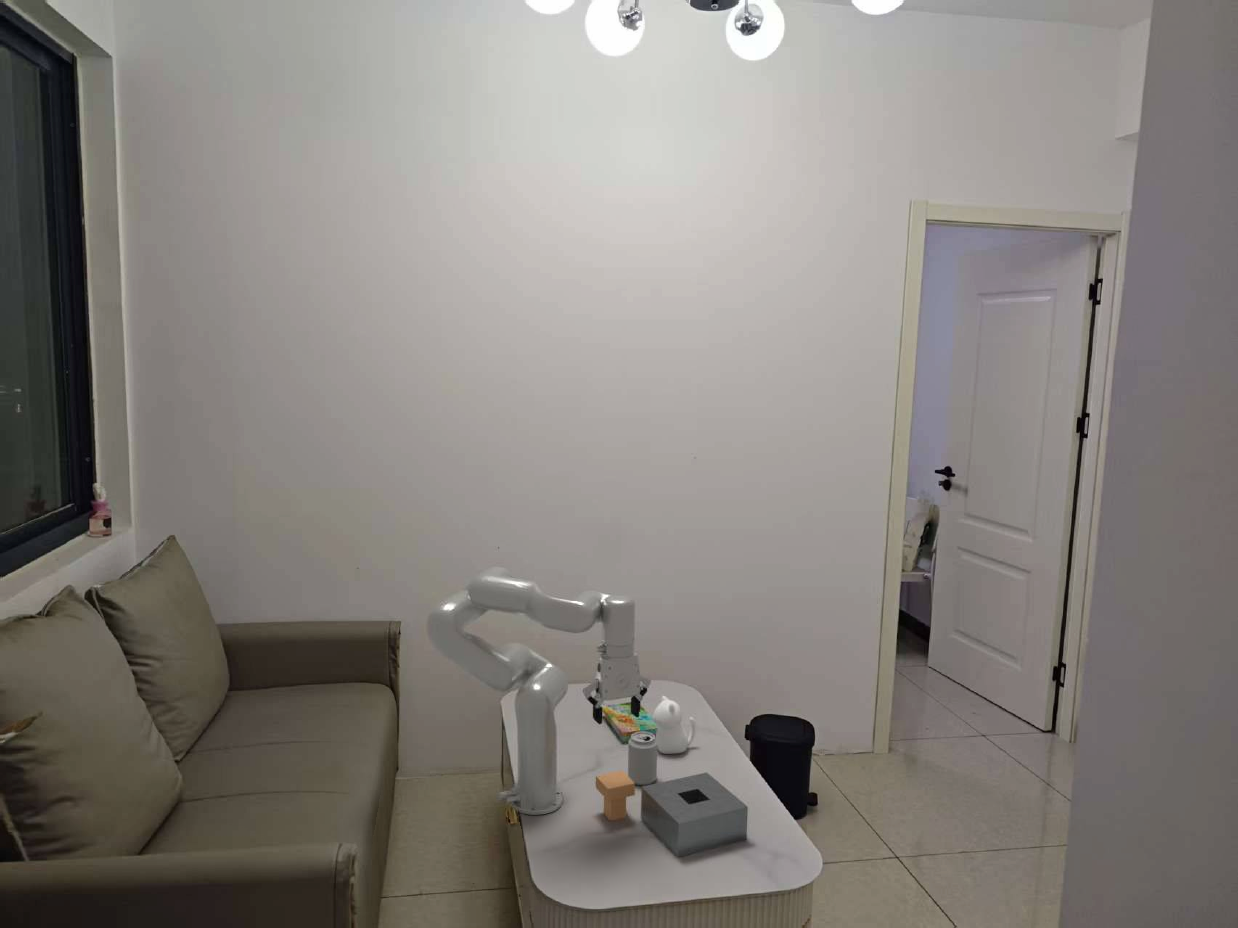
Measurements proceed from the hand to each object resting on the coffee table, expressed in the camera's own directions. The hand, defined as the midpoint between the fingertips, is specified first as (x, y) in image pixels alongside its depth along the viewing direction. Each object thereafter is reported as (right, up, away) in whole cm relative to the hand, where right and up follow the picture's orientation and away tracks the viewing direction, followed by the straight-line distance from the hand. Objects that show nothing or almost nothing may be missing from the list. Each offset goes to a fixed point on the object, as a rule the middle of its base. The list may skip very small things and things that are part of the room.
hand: (616, 718), depth 210 cm
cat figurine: (+16, -20, +38) cm, 46 cm away
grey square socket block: (+18, -25, -3) cm, 31 cm away
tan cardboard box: (0, -24, +3) cm, 24 cm away
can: (+7, -22, +21) cm, 31 cm away
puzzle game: (+4, -18, +52) cm, 56 cm away
